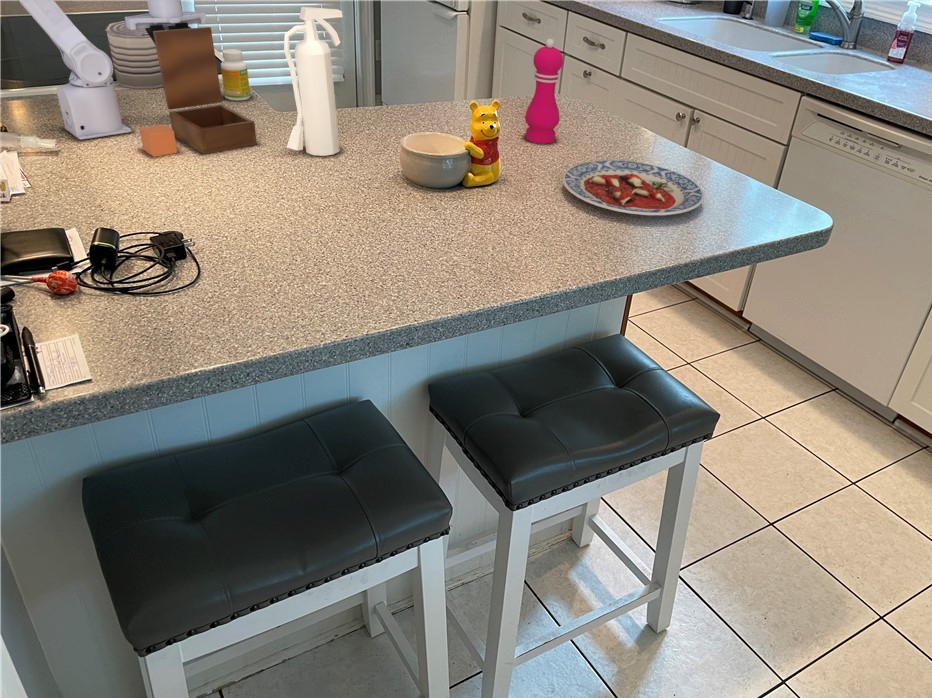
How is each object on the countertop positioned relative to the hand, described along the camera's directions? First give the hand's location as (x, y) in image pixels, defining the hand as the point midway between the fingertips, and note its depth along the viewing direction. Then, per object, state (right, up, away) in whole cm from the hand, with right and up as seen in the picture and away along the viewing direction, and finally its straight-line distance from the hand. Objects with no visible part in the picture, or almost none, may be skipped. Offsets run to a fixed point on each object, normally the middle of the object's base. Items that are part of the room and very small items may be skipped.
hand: (174, 66), depth 149 cm
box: (+8, -15, -2) cm, 17 cm away
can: (-18, +7, +25) cm, 32 cm away
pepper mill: (+71, -9, +15) cm, 74 cm away
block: (+1, -19, -9) cm, 21 cm away
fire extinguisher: (+28, -17, -2) cm, 33 cm away
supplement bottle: (+5, +2, +21) cm, 22 cm away
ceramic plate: (+87, -27, -8) cm, 92 cm away
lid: (+5, -2, -5) cm, 7 cm away
